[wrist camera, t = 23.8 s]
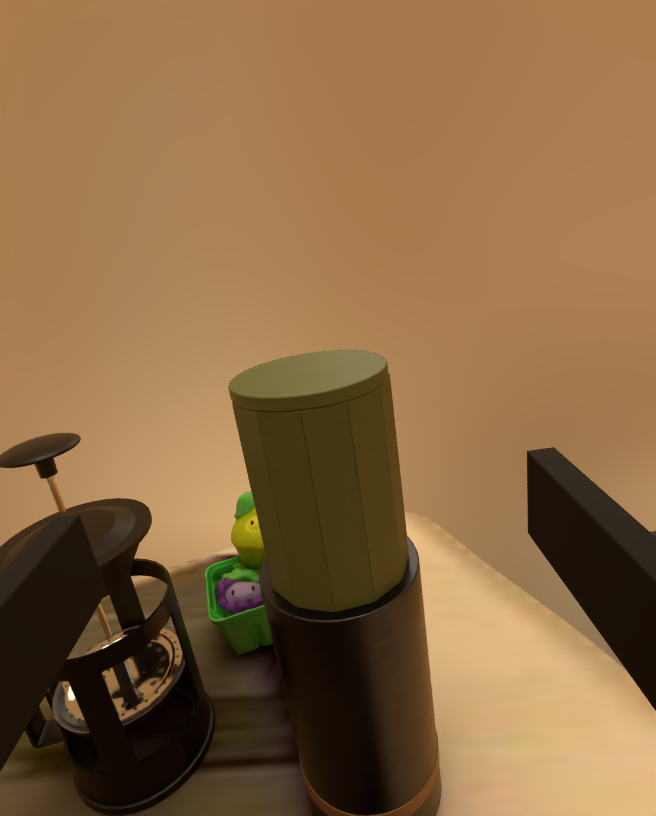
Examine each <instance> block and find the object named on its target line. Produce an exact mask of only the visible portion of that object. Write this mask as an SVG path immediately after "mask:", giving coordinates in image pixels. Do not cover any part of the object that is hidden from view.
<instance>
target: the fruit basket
mask: <svg viewBox="0 0 656 816" xmlns="http://www.w3.org/2000/svg"><path fill="white" fill-rule="evenodd" d="M235 518H236V521H235V523H234V526H233V529H232V533H231V541H232V543H233V544H234V546H235V547H236V549H237V551H238V553H239V555H240V556H237V557H234V558H231V559H228V560H225V561H222V562H218V563H215V564H213V565H211V566H210V567H208V568H207V570H206V572H205V578H206V590H207V601H208V614H209V619H210V620H211V621H212V622H213V624H214V625H215V626H216V627H218V628H219V629H220V631H221V632H222V633H223V635H224V636H225V638H226V639H227V641H228V642H229V643H230V645H231V646H232V648H233V649H234V651H235V652H236V653H237V654H238V655H241V654H244V653H247V652H250V651H253V650H255V649H257V648H258V647H259V646H260V645H261V646H267V645H270V644H273V640H272V636H271V631H270V627H269V623H268V618H267V614H266V610H265V605H264V601H263V597H262V592H261V588H260V583H259V575H260V570H261V567H262V564H263V562H264V560H265V558H266V555H265V550H264V545H263V541H262V536H261V532H260V527H259V523H258V518H257V514H256V509H255V505H254V500H253V496H252V491H251V492H246V493H244V494H242V495H241V497H239V499H238V501H237V511H236V514H235Z"/></svg>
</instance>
